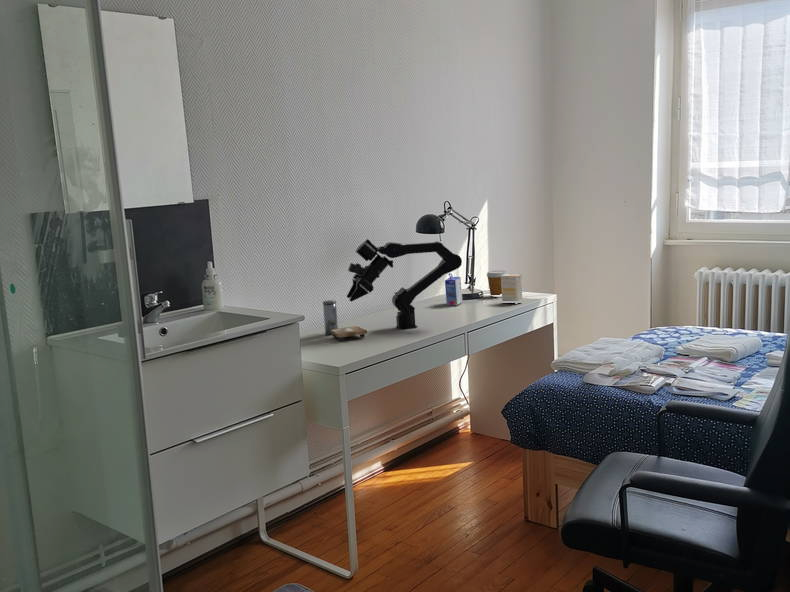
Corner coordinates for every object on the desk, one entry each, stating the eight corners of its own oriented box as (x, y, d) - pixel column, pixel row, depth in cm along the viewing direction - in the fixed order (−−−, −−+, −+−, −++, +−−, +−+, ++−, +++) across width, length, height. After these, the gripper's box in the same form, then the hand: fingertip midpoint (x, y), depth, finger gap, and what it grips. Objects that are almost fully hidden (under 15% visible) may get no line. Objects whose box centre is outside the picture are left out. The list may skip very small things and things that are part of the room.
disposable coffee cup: (507, 294, 366) (507, 270, 364) (507, 298, 357) (506, 272, 355) (488, 295, 368) (487, 270, 366) (486, 298, 359) (485, 273, 357)
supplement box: (522, 303, 340) (522, 274, 338) (517, 304, 337) (516, 275, 335) (507, 302, 346) (506, 273, 344) (501, 303, 342) (500, 274, 340)
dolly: (357, 333, 294) (356, 325, 293) (367, 337, 284) (367, 330, 283) (330, 336, 290) (329, 329, 289) (339, 341, 280) (339, 334, 279)
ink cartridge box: (451, 302, 353) (449, 271, 351) (462, 302, 351) (461, 271, 349) (445, 306, 344) (444, 274, 342) (457, 306, 342) (456, 274, 340)
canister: (335, 332, 299) (333, 299, 297) (340, 334, 294) (337, 301, 292) (323, 334, 297) (320, 301, 295) (327, 336, 292) (325, 303, 290)
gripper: (356, 253, 302) (331, 282, 302) (362, 257, 284) (335, 289, 284) (377, 271, 305) (351, 300, 305) (384, 276, 286) (357, 307, 286)
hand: (348, 299), depth 295 cm, fingers open, 9 cm apart
